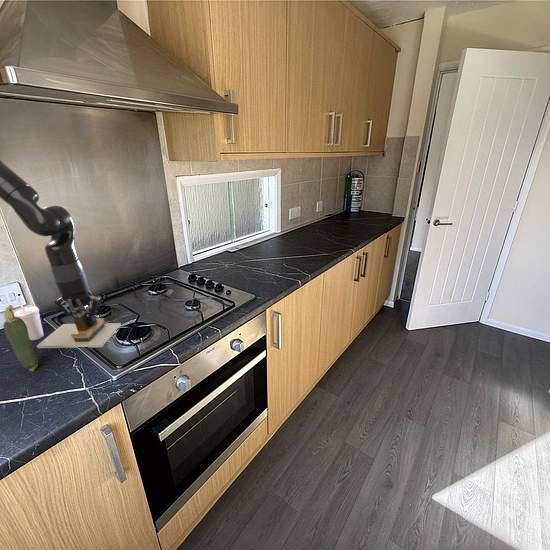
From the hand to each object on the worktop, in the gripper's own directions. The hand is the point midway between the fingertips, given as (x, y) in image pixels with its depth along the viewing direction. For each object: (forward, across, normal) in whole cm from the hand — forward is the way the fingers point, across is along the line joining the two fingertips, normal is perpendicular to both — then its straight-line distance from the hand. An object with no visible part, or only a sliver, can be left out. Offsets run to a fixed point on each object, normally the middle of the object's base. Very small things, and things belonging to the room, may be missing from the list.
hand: (87, 325), depth 93 cm
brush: (+3, 0, 0) cm, 3 cm away
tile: (+4, +3, 0) cm, 5 cm away
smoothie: (+4, +18, 0) cm, 19 cm away
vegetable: (+4, +7, +15) cm, 17 cm away
